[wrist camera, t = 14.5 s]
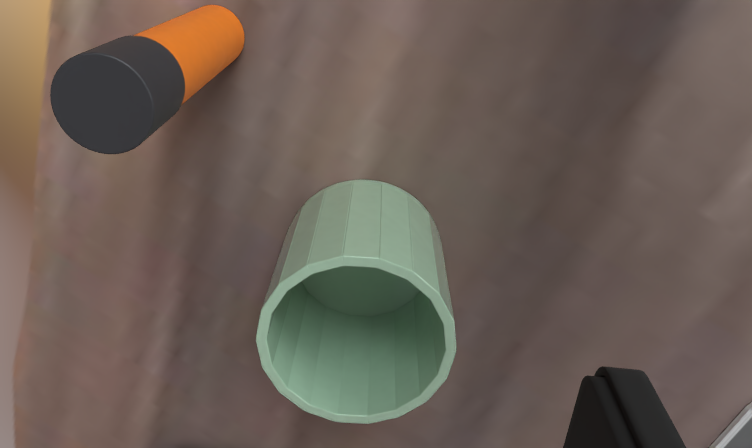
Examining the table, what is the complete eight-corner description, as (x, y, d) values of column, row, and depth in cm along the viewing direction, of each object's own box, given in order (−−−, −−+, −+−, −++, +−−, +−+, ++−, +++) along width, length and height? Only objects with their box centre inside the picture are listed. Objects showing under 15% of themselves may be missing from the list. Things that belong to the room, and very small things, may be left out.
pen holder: (285, 174, 37) (253, 250, 28) (449, 184, 37) (468, 263, 28) (285, 312, 40) (257, 418, 32) (434, 321, 40) (446, 428, 32)
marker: (181, 0, 33) (42, 49, 20) (246, 4, 33) (149, 56, 20) (185, 65, 34) (57, 151, 21) (247, 69, 34) (157, 157, 21)
